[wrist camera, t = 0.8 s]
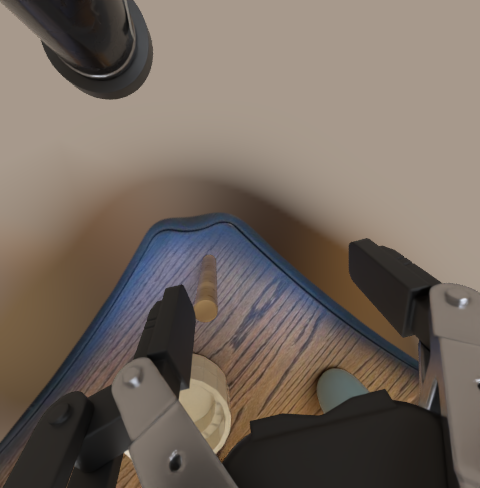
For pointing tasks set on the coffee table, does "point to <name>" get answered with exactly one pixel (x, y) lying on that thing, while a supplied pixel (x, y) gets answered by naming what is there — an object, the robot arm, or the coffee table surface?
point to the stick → (206, 291)
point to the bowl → (207, 402)
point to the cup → (337, 388)
